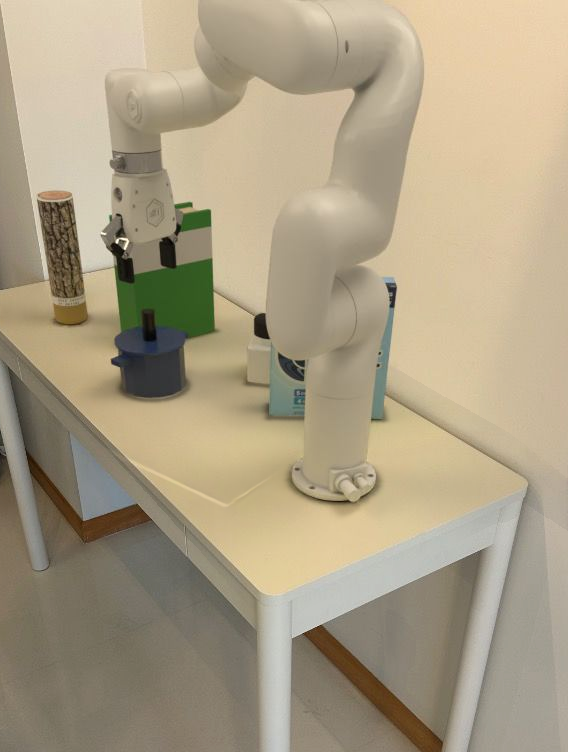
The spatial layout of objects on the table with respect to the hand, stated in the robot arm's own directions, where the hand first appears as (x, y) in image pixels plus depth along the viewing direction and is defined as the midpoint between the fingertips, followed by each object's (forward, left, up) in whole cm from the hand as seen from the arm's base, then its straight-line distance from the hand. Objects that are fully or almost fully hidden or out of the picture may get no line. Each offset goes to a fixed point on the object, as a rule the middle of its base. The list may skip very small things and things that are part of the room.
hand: (148, 274), depth 133 cm
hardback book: (+23, -9, -21) cm, 32 cm away
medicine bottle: (-3, -21, -21) cm, 29 cm away
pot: (+1, 0, -20) cm, 20 cm away
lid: (+1, 0, -12) cm, 12 cm away
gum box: (-19, -25, -21) cm, 38 cm away
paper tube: (+38, +8, -21) cm, 44 cm away
